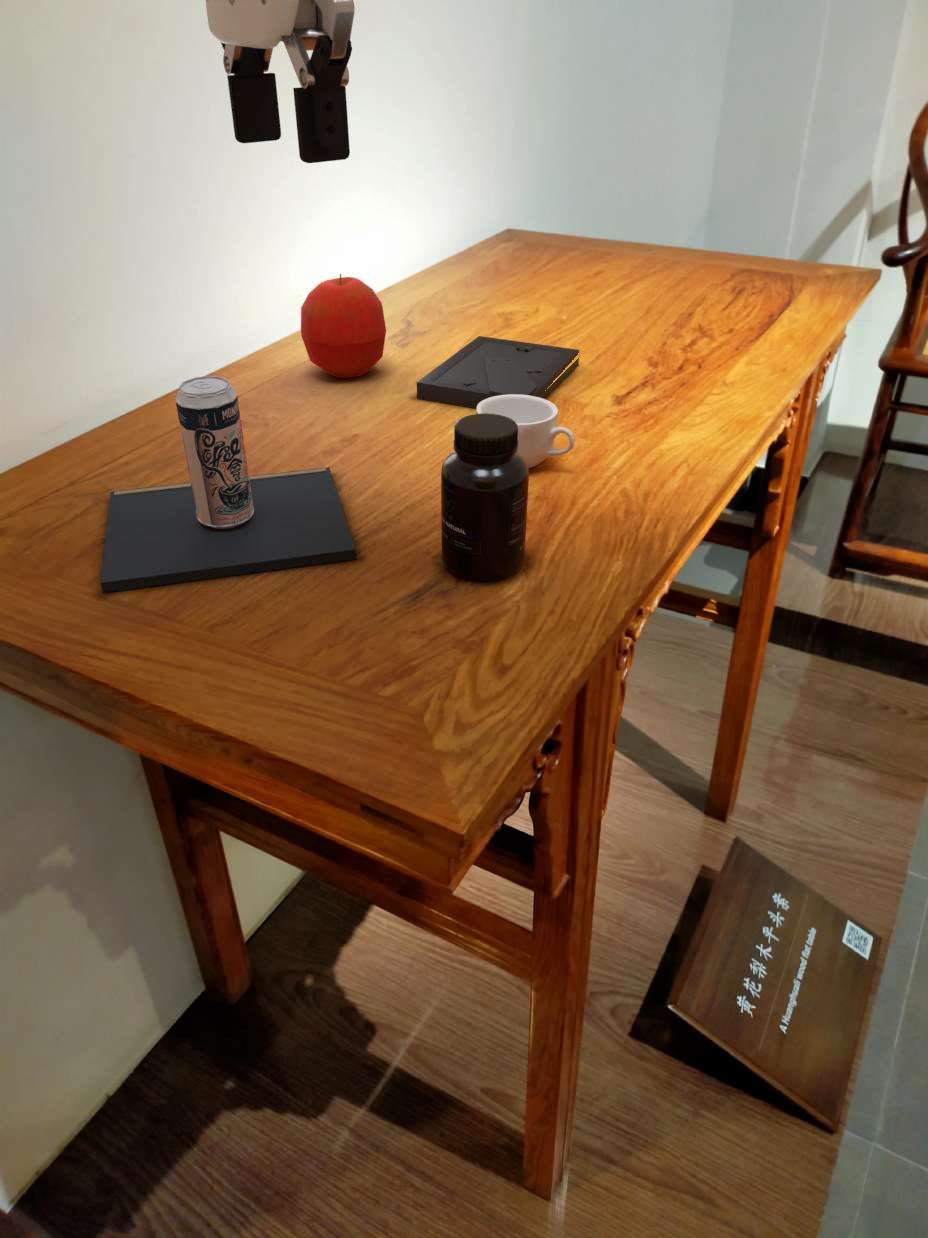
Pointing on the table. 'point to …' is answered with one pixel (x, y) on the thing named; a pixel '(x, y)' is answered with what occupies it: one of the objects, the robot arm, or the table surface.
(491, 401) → the teacup
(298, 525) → the dark grey flat slab
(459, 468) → the supplement bottle
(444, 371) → the picture frame
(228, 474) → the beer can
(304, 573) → the table surface
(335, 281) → the apple
